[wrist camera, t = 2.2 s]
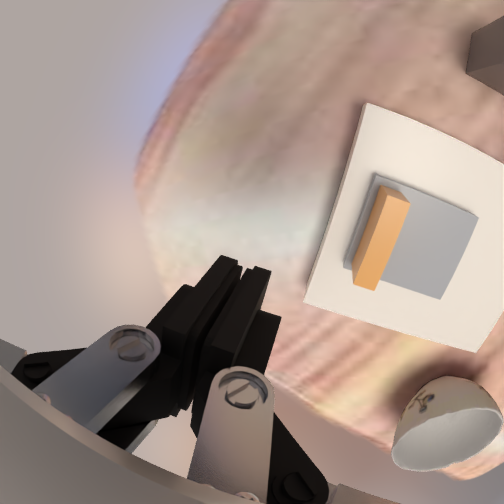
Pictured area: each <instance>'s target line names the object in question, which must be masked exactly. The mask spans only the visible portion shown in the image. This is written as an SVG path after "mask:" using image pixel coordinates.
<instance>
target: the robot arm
mask: <svg viewBox="0 0 504 504" xmlns="http://www.w3.org/2000/svg"><path fill="white" fill-rule="evenodd" d="M242 268H243V267H242V266H239V265H238V260H235V259H232V258H229V257H226V256H223V255H221V256H220V257H219V258H218V259H217V260H216V261H215V263H214V264H213V265H212V266H211V268H210V269H209V270H208V271H207V272H206V274H205V275H204V276H203V277H202V278H201V280H200V281H199V282H198V283H197V285H196V286H195V287H192V286H189V285H187V284H184V285H183V286H182V287H181V288H180V289H179V290H178V291H177V292H176V293H175V294H174V296H173V297H172V298H171V299H170V300H169V301H168V302H167V303H166V305H165V306H164V307H163V308H162V309H161V310H160V312H159V313H158V314H157V315H156V316H155V317H154V318H153V319H152V321H151V322H150V323H149V324H148V325H147V326H146V328H145V327H142V326H138V325H122V326H119V327H116V328H114V329H112V330H110V331H109V332H108V333H106V334H105V335H104V336H102V337H101V338H100V339H98V340H97V341H96V342H94V343H93V344H92V345H90V346H89V347H88V348H80V349H72V350H61V351H51V352H39V353H34V354H29V355H28V354H27V352H26V350H24V349H22V348H19V347H17V346H15V345H13V344H10V343H8V342H6V341H4V340H2V339H0V504H400V503H397V502H393V501H390V500H387V499H383V498H380V497H377V496H374V495H371V494H368V493H365V492H362V491H359V490H356V489H353V488H351V487H348V486H345V485H343V484H339V485H338V486H336V485H333V484H331V483H328V482H327V481H326V479H325V477H324V476H323V474H322V473H321V472H320V470H319V469H318V468H317V467H316V466H315V464H314V463H313V462H312V461H311V459H310V458H309V457H308V456H307V454H306V453H305V452H304V451H303V449H302V448H301V447H300V446H299V444H298V443H297V442H296V440H295V439H294V438H293V437H292V435H291V434H290V433H289V431H288V430H287V429H286V427H285V426H284V425H283V423H282V422H281V421H280V419H279V418H278V417H277V416H276V414H275V413H274V398H275V394H274V388H273V386H272V384H271V382H270V381H269V380H268V379H267V378H266V377H265V376H264V373H265V370H266V367H267V363H268V360H269V357H270V354H271V351H272V347H273V344H274V341H275V338H276V334H277V331H278V328H279V324H280V321H281V317H280V316H277V315H274V314H271V313H268V312H265V311H262V310H260V309H261V306H262V302H263V299H264V296H265V292H266V289H267V286H268V282H269V279H270V275H271V271H269V270H266V269H263V268H260V267H257V266H255V267H254V268H253V270H252V269H249V268H247V269H246V271H245V272H244V274H243V276H242V278H241V279H240V277H241V273H242ZM192 400H193V405H192V418H191V425H190V426H191V428H192V430H193V432H194V434H195V436H196V438H197V441H196V445H195V449H194V453H193V457H192V461H191V464H190V468H189V472H188V476H187V479H186V478H184V477H181V476H178V475H176V474H174V473H171V472H169V471H167V470H165V469H162V468H160V467H158V466H156V465H153V464H151V463H149V462H147V461H145V460H143V459H141V458H139V457H137V456H135V455H132V452H133V451H134V450H135V449H136V448H137V447H138V446H139V444H140V443H141V442H142V441H143V440H144V439H145V437H146V436H147V435H148V434H149V433H150V432H151V431H152V429H153V428H154V427H155V426H156V424H157V422H158V419H162V418H166V417H169V416H170V415H172V416H175V417H177V415H178V413H179V411H180V409H183V410H185V411H186V410H187V409H188V408H189V406H190V404H191V402H192Z"/></svg>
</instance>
